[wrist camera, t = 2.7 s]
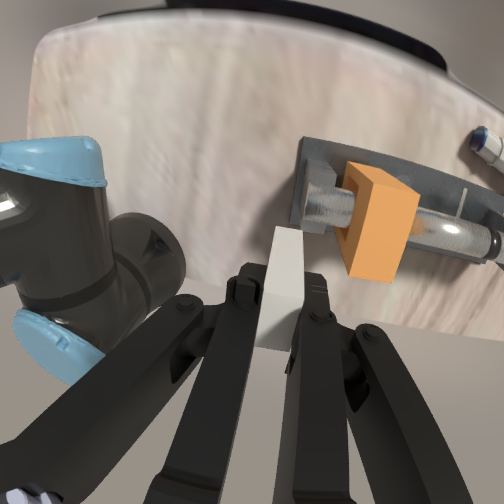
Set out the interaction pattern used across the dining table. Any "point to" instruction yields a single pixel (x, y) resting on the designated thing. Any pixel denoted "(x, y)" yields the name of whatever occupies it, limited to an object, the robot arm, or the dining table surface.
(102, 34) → the dining table surface
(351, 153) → the pipe rig
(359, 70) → the dining table surface
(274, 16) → the dining table surface
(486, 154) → the white blue-tipped device
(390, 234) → the collar
